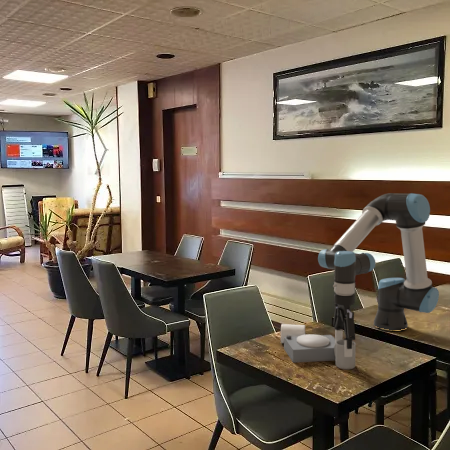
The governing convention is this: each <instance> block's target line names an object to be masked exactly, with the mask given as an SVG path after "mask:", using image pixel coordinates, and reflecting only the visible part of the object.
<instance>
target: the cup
mask: <svg viewBox="0 0 450 450" xmlns="http://www.w3.org/2000/svg"><path fill="white" fill-rule="evenodd" d="M344 350H345V340H344V339H343V340H337V341H336V343H335V345H334V354H335V357H336V360H335V366H336V367H337V368H339V369H341V370H352V369H355V367H356V350H357V349H356V342H355V340H353V344H352V357H345V356H344Z"/></svg>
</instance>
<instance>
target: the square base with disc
mask: <svg viewBox="0 0 450 450" xmlns="http://www.w3.org/2000/svg"><path fill="white" fill-rule="evenodd" d="M334 345H335V336H334V335H332V334H324V335H323V334H321V335H320V334H313V333H312V334H309V333H308V334H307V333H306V334H305V335H301V336H297V337H291V336H290V335H287V336H286V337H284V343H283V350H284V351H285V353H286V354H287V356H288V357H289V359H290V361H291V362H292V363H312V362H326V361H327V362H329V361H330V362H331V361H336V357H335V354H334Z"/></svg>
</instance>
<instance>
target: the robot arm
mask: <svg viewBox="0 0 450 450" xmlns="http://www.w3.org/2000/svg"><path fill="white" fill-rule="evenodd" d="M430 213H431V207H430V203H429V200H428V199H427V197H425V196H424V195H423V194H420V193H413V192H411V193H392V192H390V193H384V194H381V195H380V196H378V197H376V198H374V199H373V200H372V201H369V203H368V204H367V205H366V206H365V207H364V208H363V209H362V212H361V214H360V216H358V217H357V219H356V220H355V221H354V222H353V223H352V224H351V225H350V227H349V228H348V229H346V231H345V232H344V233H343V234H342V236H340V237H339V239H338V240H336V242H335V243H334V244H333V245H332V247H331V248H325V249H324V248H323V249H321V250H320V251H319V253H318V257H317V261H318V265H319V266H320V267H321V268H325V269H328V270H333V272H334V281H333V283H334V284H333V285H332V287H333V288H334V289H333V292H334V294H333V303H334V313H333V323H332V325H333V327H334V331H335V332H334V335H335V336H334V338H335V343H336V341H337V340H345V350H344V356H345V357H352V344H353V341H355V340H356V331H355V313H354V312H353V311H352V309H351V306H353V305H355V303H356V296H355V293H356V276H357V275H361V274H368V273H369V272H372V271H373V270H374V269H375V267H376V264H377V263H376V259H375V257H374V255H372V254H371V253H370V252H361V253H355V252H354V251H355V250H356V249H357V248H358V246H359V245H360V244H361V243H362V242H363V241H364V240H365V239H366V237H367V236H368V235H369V234H370V233H371V232H372V231H373V229H375V227H377V226H379V225H380V224H382V223H383V222H384V221H388V220H389V221H395V224H396V228H398V229H399V230H400V236H401V243H402V252H403V258H404V259H403V261H404V268H405V274H406V275H405V276H406V279H405V278H403V277H387V278H382V279H380V280H379V282H378V286H377V311H376V314H375V316H374V319H373V326H374V325H375V326H377V327H379V328H384V329H389V330H401V329H405V328H407V327H408V326H409V323H408V320H407V317H406V314H405V309H406V310H409V311H410V310H411V311H416V312H419V313H424V314H429V313H431V312H433V311H434V310H435V308H436V307H437V305H438V303H439V296H440V292H439V289H438V288H437V287H435V286H433V282H432V280H431V279H430V278H428V271H427V270H428V269H427V260H426V251H425V250H426V249H425V242H424V233H423V227H424V226H425V225H426V222H427V221H428V220H429V218H430V215H431V214H430ZM343 330H344V331H343ZM343 332H344V333H343ZM343 334H344V335H345V338H344V337H343Z"/></svg>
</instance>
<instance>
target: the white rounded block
mask: <svg viewBox="0 0 450 450" xmlns="http://www.w3.org/2000/svg"><path fill="white" fill-rule="evenodd" d="M287 335H290V336H291V337H297V336H301V335H306V325H305V324H290V323H289V324H288V323H281V326H280V343H281V344H284V337H286V336H287Z"/></svg>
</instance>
